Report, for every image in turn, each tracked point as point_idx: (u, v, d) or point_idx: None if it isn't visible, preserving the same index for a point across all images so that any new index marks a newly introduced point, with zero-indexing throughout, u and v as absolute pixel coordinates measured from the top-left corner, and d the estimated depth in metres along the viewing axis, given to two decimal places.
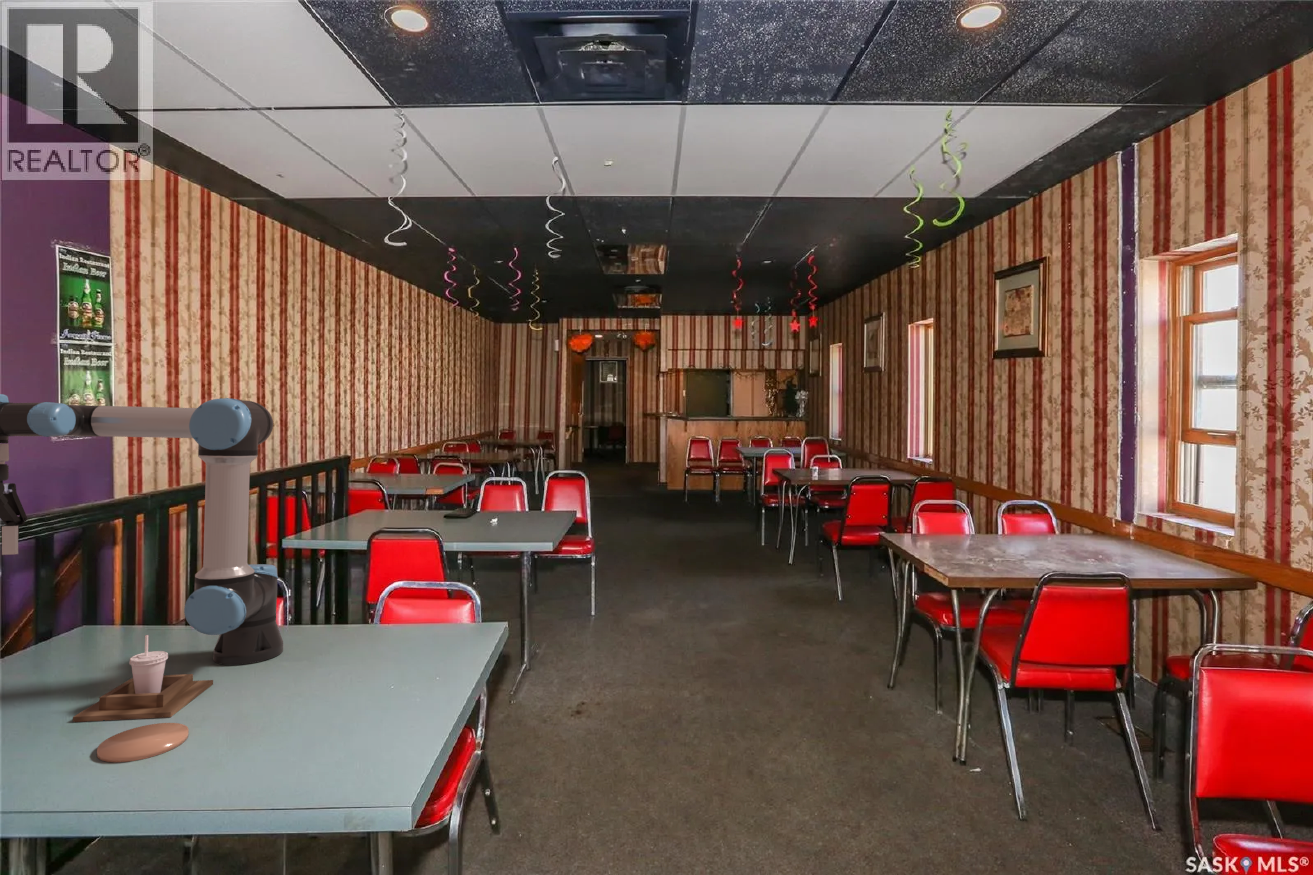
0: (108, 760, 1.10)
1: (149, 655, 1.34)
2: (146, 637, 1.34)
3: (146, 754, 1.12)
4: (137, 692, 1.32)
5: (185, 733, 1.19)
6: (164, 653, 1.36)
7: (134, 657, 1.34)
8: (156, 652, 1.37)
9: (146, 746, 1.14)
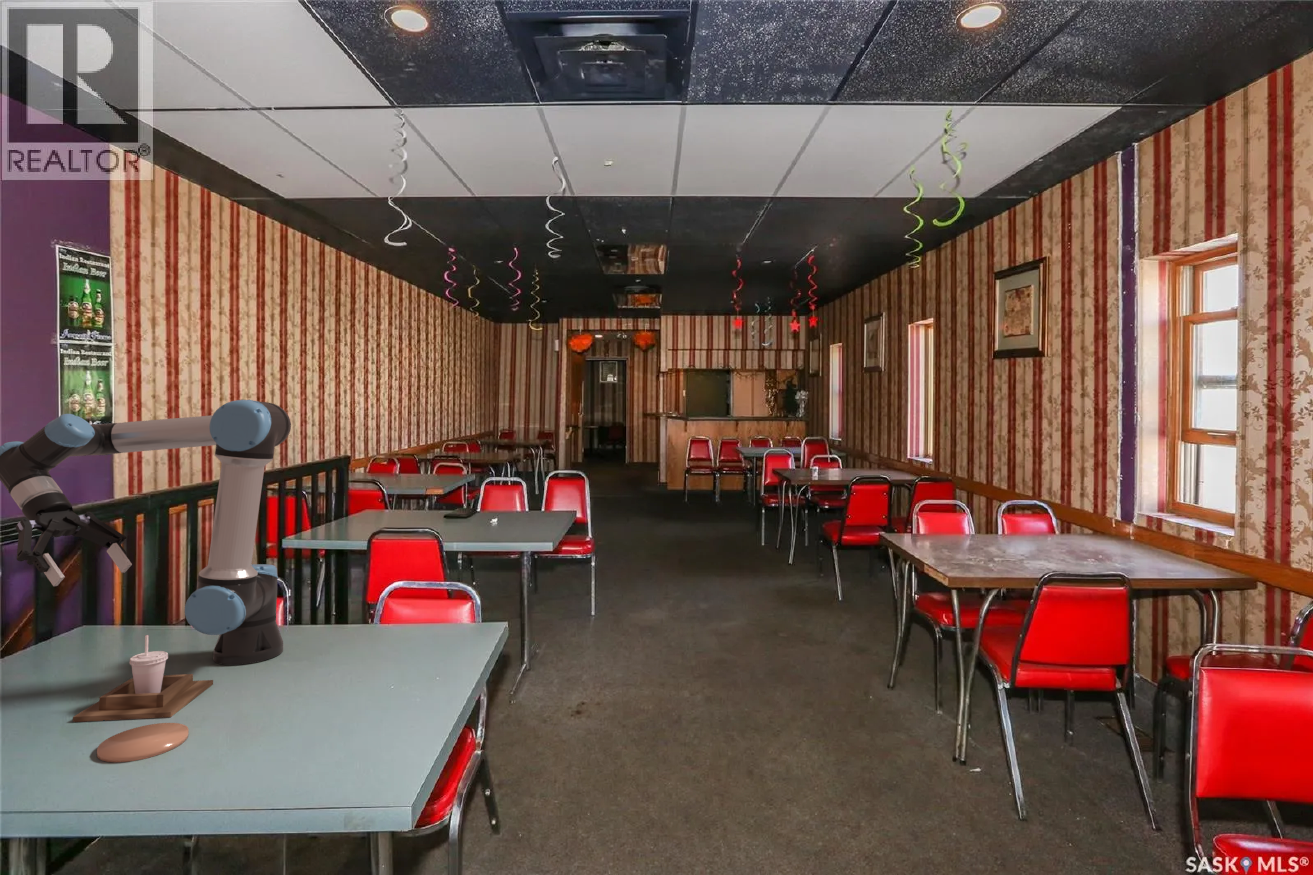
0: (108, 760, 1.10)
1: (149, 655, 1.34)
2: (146, 637, 1.34)
3: (146, 754, 1.12)
4: (137, 692, 1.32)
5: (185, 733, 1.19)
6: (164, 653, 1.36)
7: (134, 657, 1.34)
8: (156, 652, 1.37)
9: (146, 746, 1.14)
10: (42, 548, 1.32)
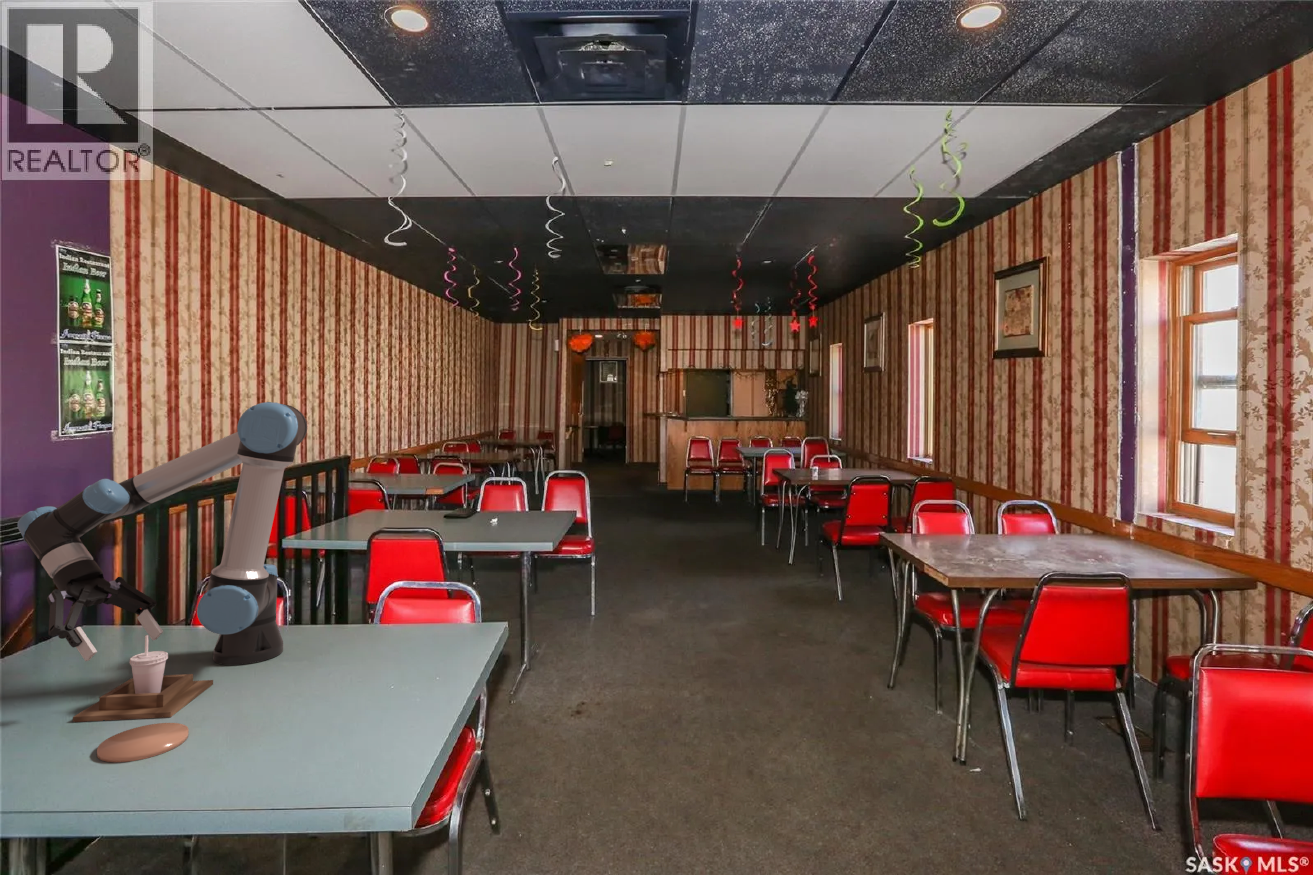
0: (108, 760, 1.10)
1: (149, 655, 1.34)
2: (146, 637, 1.34)
3: (146, 754, 1.12)
4: (137, 692, 1.32)
5: (185, 733, 1.19)
6: (164, 653, 1.36)
7: (134, 657, 1.34)
8: (156, 652, 1.37)
9: (146, 746, 1.14)
10: (74, 621, 1.29)
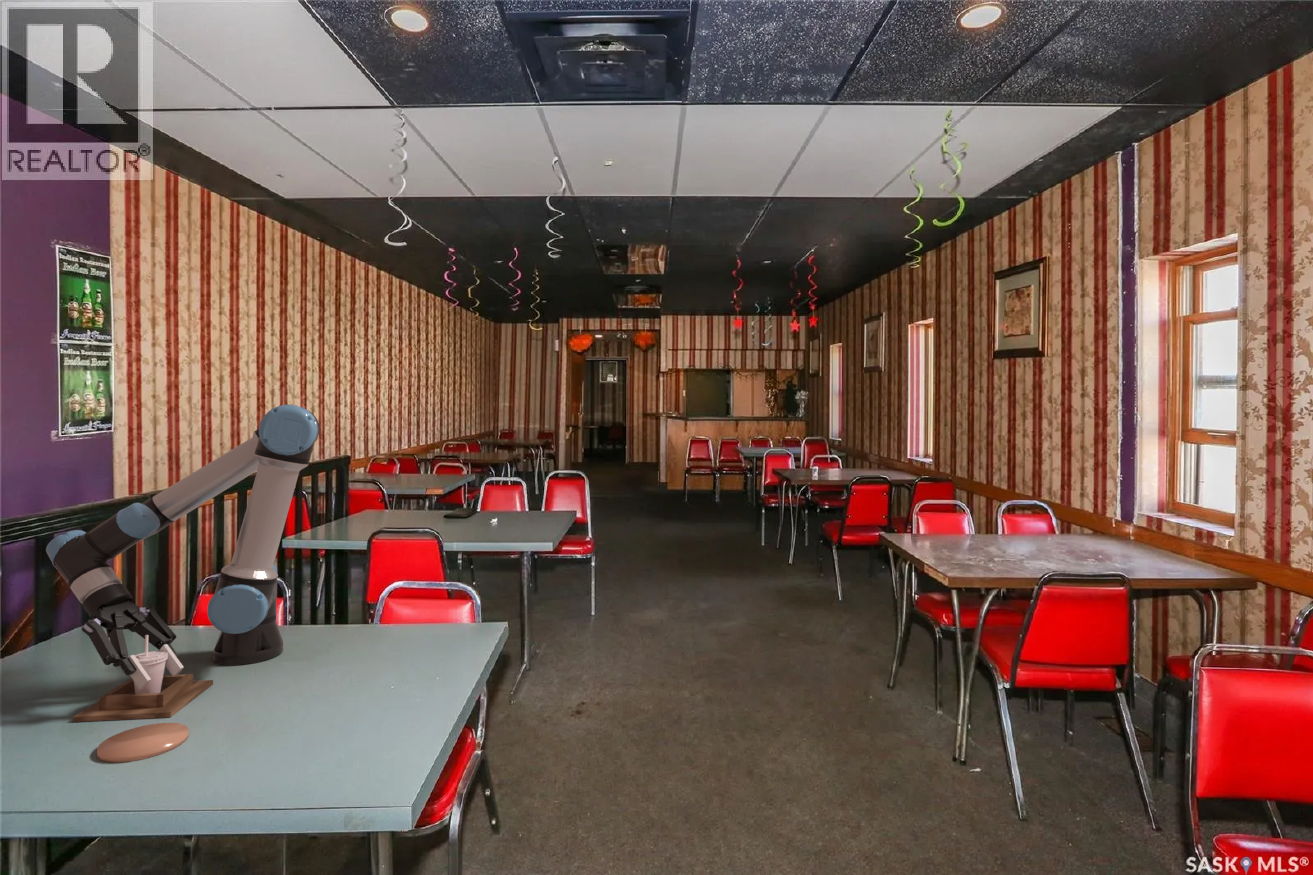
0: (108, 760, 1.10)
1: (149, 655, 1.34)
2: (146, 637, 1.34)
3: (146, 754, 1.12)
4: (137, 692, 1.32)
5: (185, 733, 1.19)
6: (164, 653, 1.36)
7: None
8: (156, 652, 1.37)
9: (146, 746, 1.14)
10: (125, 649, 1.31)
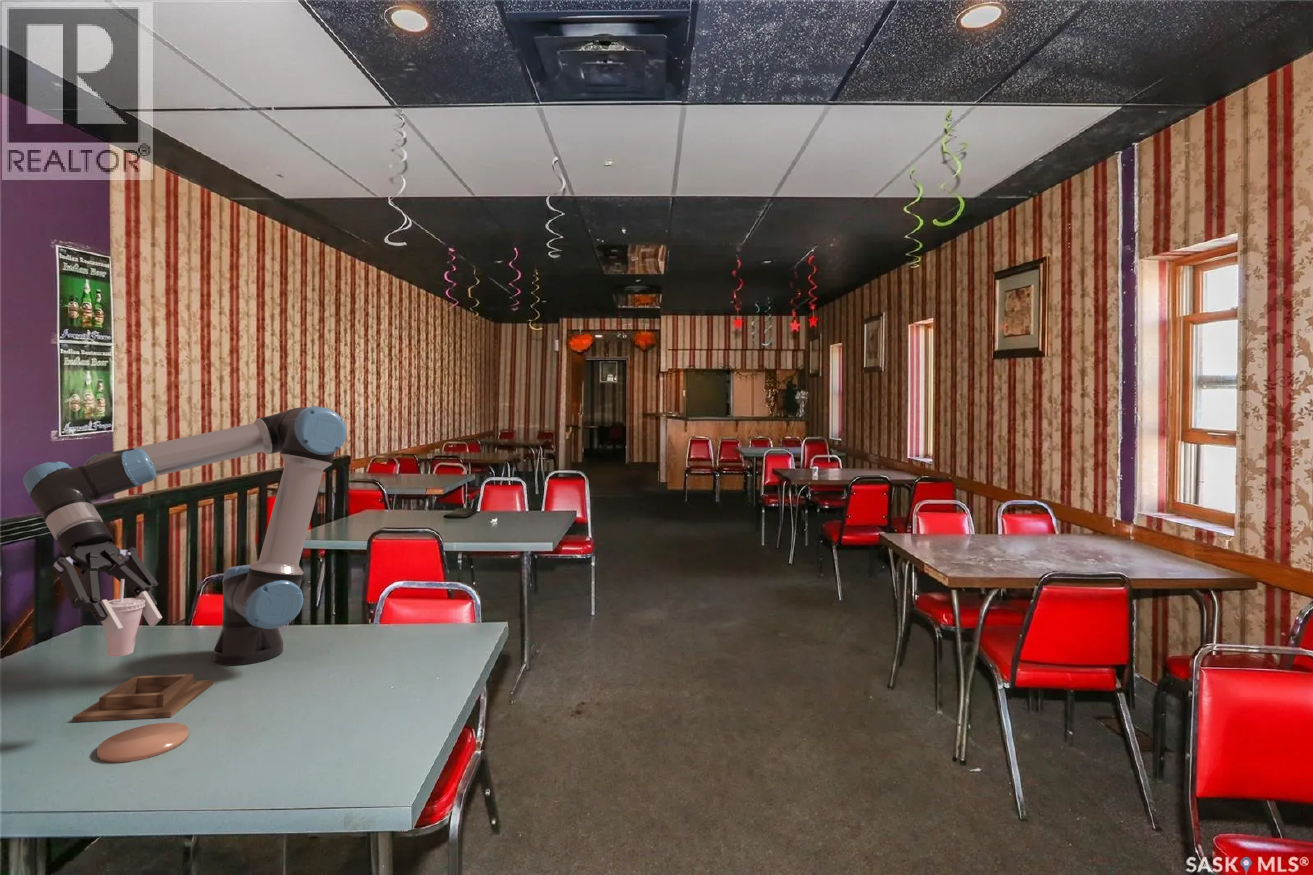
0: (108, 760, 1.10)
1: (124, 601, 1.21)
2: (122, 581, 1.21)
3: (146, 754, 1.12)
4: (108, 641, 1.19)
5: (185, 733, 1.19)
6: (141, 600, 1.23)
7: (108, 602, 1.21)
8: (133, 599, 1.24)
9: (146, 746, 1.14)
10: (97, 592, 1.18)
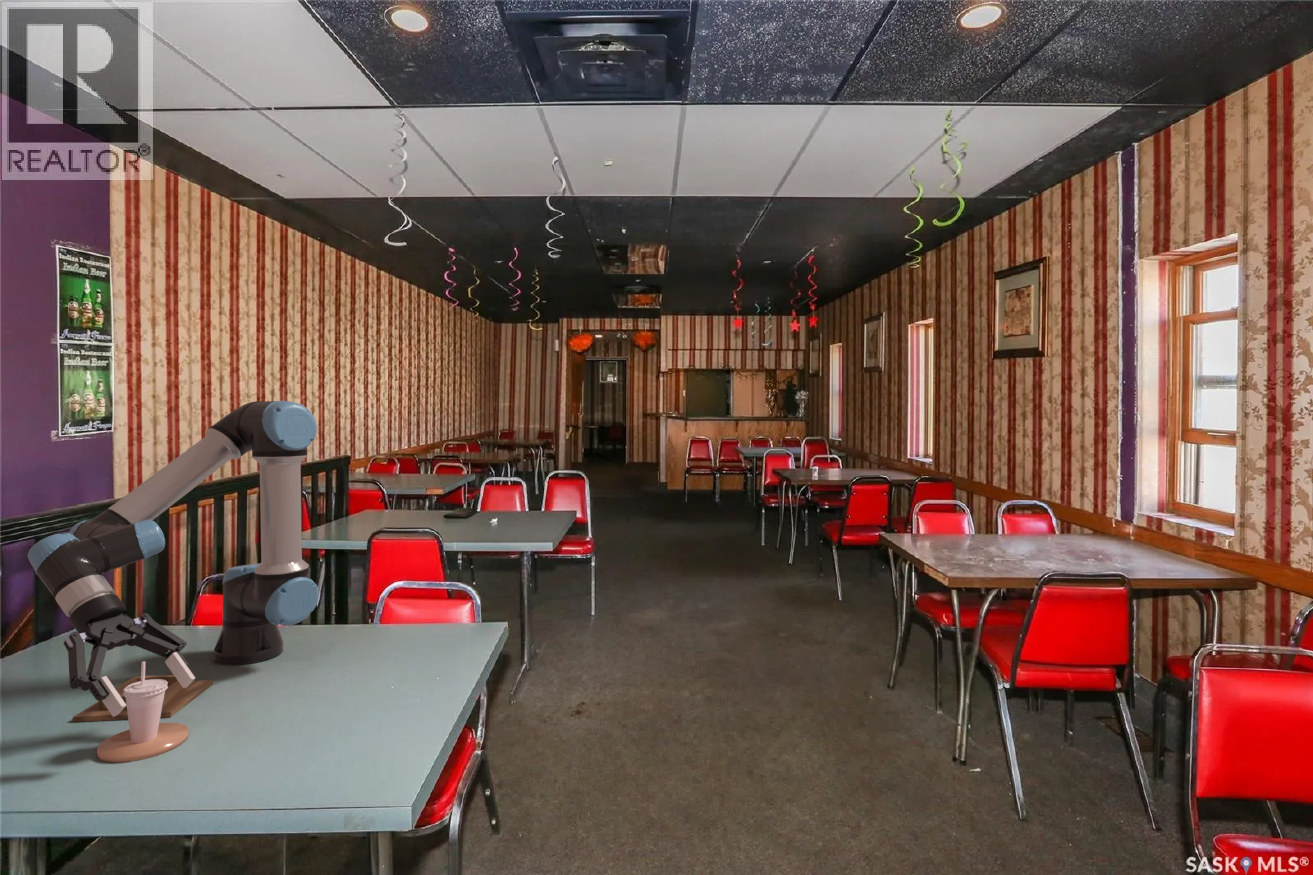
0: (108, 760, 1.10)
1: (146, 685, 1.17)
2: (143, 664, 1.16)
3: (146, 754, 1.12)
4: (132, 728, 1.15)
5: (185, 733, 1.19)
6: (163, 682, 1.19)
7: (129, 687, 1.16)
8: (154, 680, 1.19)
9: (146, 746, 1.14)
10: (98, 670, 1.11)
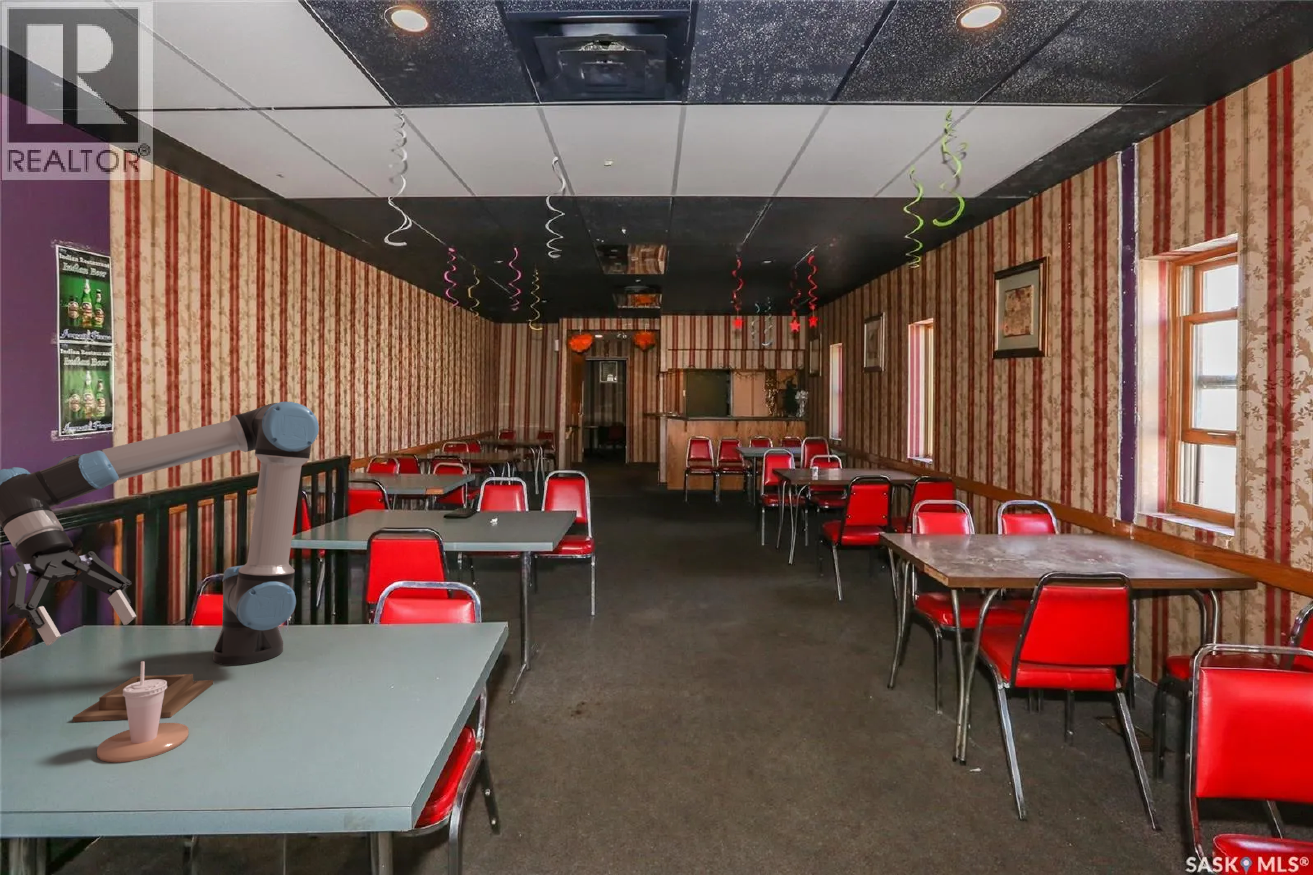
0: (108, 760, 1.10)
1: (145, 685, 1.17)
2: (142, 664, 1.17)
3: (146, 754, 1.12)
4: (131, 728, 1.15)
5: (185, 733, 1.19)
6: (163, 682, 1.19)
7: (128, 687, 1.16)
8: (153, 681, 1.19)
9: (146, 746, 1.14)
10: (37, 600, 1.15)
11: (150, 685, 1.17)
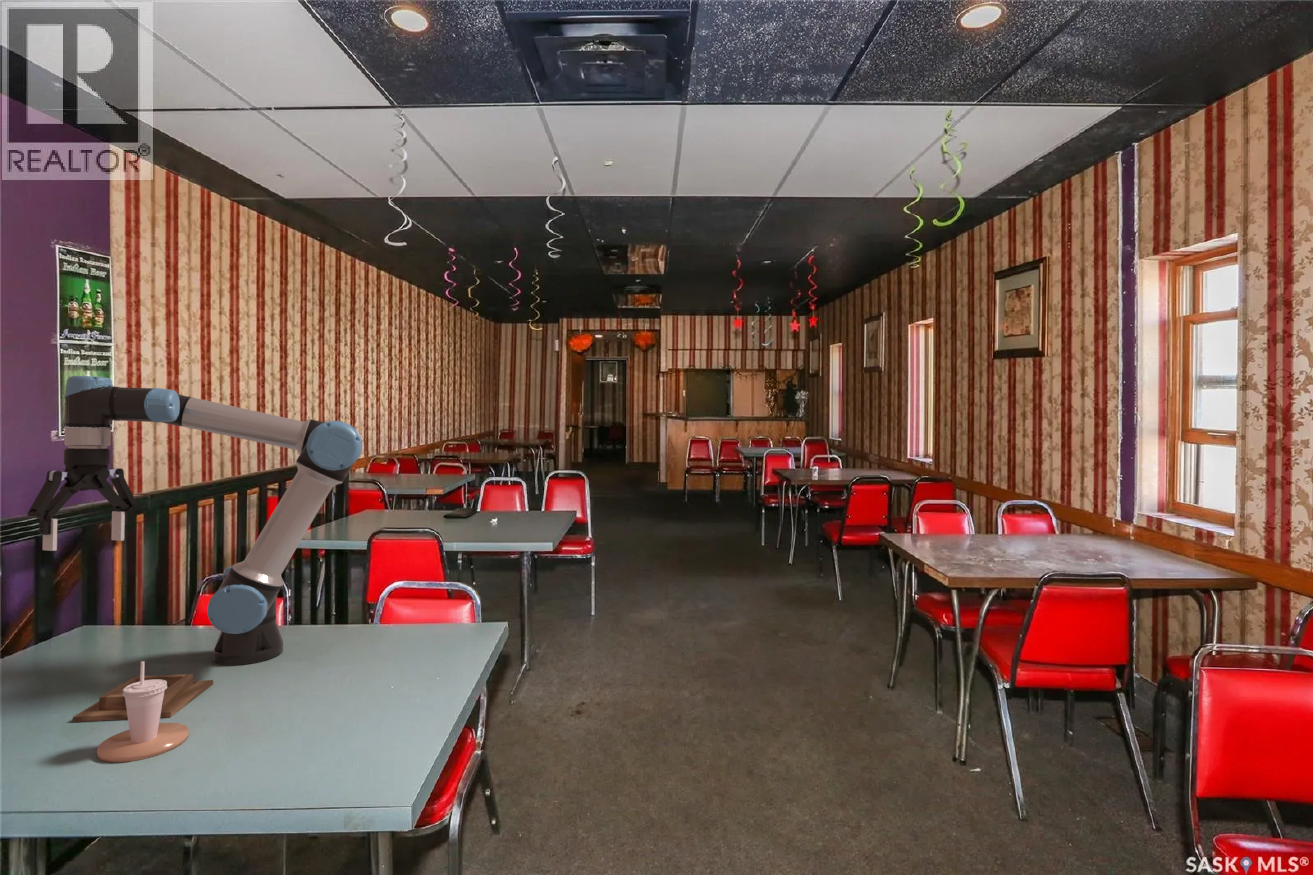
0: (108, 760, 1.10)
1: (145, 685, 1.17)
2: (142, 664, 1.17)
3: (146, 754, 1.12)
4: (131, 728, 1.15)
5: (185, 733, 1.19)
6: (163, 682, 1.19)
7: (128, 687, 1.16)
8: (153, 681, 1.19)
9: (146, 746, 1.14)
10: (55, 511, 1.32)
11: (150, 685, 1.17)
